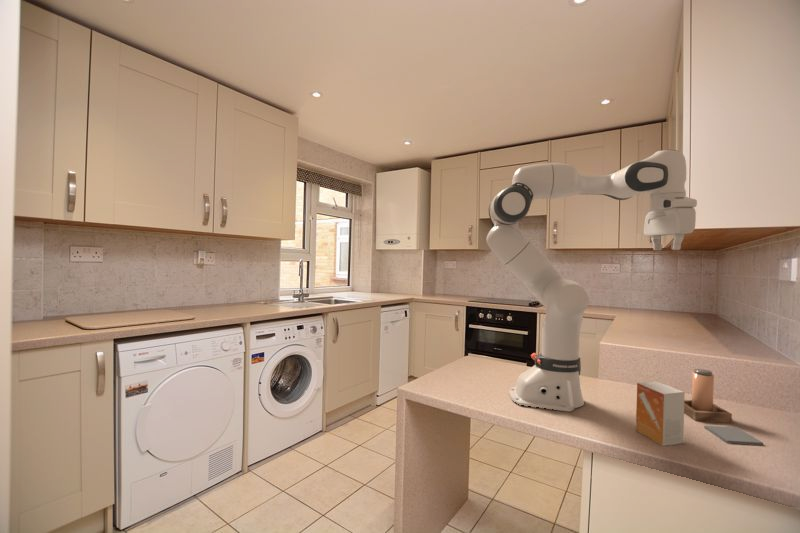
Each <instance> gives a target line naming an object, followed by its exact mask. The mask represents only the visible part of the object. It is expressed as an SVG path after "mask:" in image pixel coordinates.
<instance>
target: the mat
mask: <svg viewBox="0 0 800 533" xmlns="http://www.w3.org/2000/svg"><path fill="white" fill-rule="evenodd" d="M704 429H705V430H707V431H708V432H710V433H711V434H713V435H715V436H716V437H717V438H719V439H720V440H722V441H723V442H724V443H726V444H738V445H752V446H753V445H755V446H757V445H758V446H763V445H764V442H763V441H761V440H759V439H757V438H756V437H755V436H752V435H751V434H749V433H748V432H746V431H745V430H742V429H741V428H739V427H736V426H718V425H704Z"/></svg>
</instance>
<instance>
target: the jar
mask: <svg viewBox="0 0 800 533" xmlns="http://www.w3.org/2000/svg"><path fill="white" fill-rule="evenodd" d="M691 373H692V375H691V376H692V379H691V400H692V408H693V409H695V410H696V411H710V412H713V404H714V388H715V387H714V383H715V380H714V379H715V374H713V371H711V370H708V369H703V368H694V371H692V372H691Z"/></svg>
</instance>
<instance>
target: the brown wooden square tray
mask: <svg viewBox="0 0 800 533" xmlns="http://www.w3.org/2000/svg"><path fill="white" fill-rule="evenodd" d="M684 415H686V416H688V417H690V419H692V420H694V421H695V422H713V423H715V422H717V423H732V417H733V414H732V413H731V412H729V411H728V410H726V409H724V408H722V407H720V406H718V405H717V404H714V403H713V412H710V411H696V410H695V409H693V408H692V399H684Z"/></svg>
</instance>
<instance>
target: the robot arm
mask: <svg viewBox="0 0 800 533" xmlns="http://www.w3.org/2000/svg"><path fill="white" fill-rule="evenodd" d="M686 160H687V159H686V157H685V155H684V153H683V152H681V151H680V150H678V149H662V150H657V151H655V152H654V153H653V154H652V155H650V156H648V157H646V158H644V159H642V160H640V161H639V160H638V161H635V162H633V163H631V164H629V165H627V166H625V167H623V168H621V169H618V170H616V171H614V172H611V173H609V174H604V175H601V174H600V175H599V174H597V175H595V174H589V175H587V174H586V175H585V174H580V173H579V172H578V170H577V168H576V167H575V165H572V164H570V163H562V162H547V163H546V162H544V163H535V164H534V163H533V164H530V165H526V166H522V167H521V166H520V167H519V168H518V169H517V170H515V171H514V174H513V176H512V180H511V185H509V186H507V187H506V188H504V189H502V190H501V191H499V192H498V193H497V194H495V195H494V196H493V198H492V200H491V201H490V203H489V206H488V215H489V219H490V222H491V226H492V228H491V229H490V230H489V231H488V233H487V234H486V238H485V239H486V245H487V246H488V248H489V249H490V250H491V252H492V253H493V254H494V255H495V257H496V259H498V260H499V261H500V262H501V264H503V265H504V266H505V268H507V270H509V272H511V273H512V275H513V276H515V277H516V278H517V279H518V280H519V282H521V283H522V284H523V286H524V287H525V288H526V289H527V290H528V291H529V292H530V293H531V294H532V296H534V297H535V299H536V300H537V301H538V302H539V303H540V304H541V305H542V306H544V307H545V310H546V311H545V318H544V322H543V326H542V328H541V352H540V354H537V353H536V352H533V353H532V354H530V357H531V359H532V360H533V361H534V364H533V366H531V367H530V368H528V369H526V370H525V371H524V372H522V373H520V374H519V375H518V377H517V380H516V385H515V386H513V387H510V388H509V393H508V395H509V394H510V395H509V397H511V398H510V400H511V401H512V400H513V401H514V403H515V402H516V403H517V405H518V404H519V405H518V406H521V405H524V406H523V407H528V406H531V407H530V408H536V407H539V408H538V409H544V408H546V409H545V410H552V409H553V411H554V410H555V411H562V412H573V411H574V410H575V409H578V408H581V407H582V406H584V405H585V401H584V397H583V394H582V389H581V381H580V380H581V379H580V375H581V371H582V363H581V357H580V336H581V335H580V333H581V327H582V323H583V318H584V314H585V311H586V310H587V308H588V306H589V303H590V302H589V301H590V300H589V299H590V298H589V294H588V292H587V291H586V289H585V288H584V287H583V286H582V285H581V284H580V283H579V282H577V281H574V280H571V279H567V278H565V277H564V276H563V275H562V274H561V273H560V272H559V271H558V270H557V269H556V268H555V266H553V264H552V263H551V261H550V260H549V258H548V256H546V255H545V254H544V253H543V252H542V251H541V250H540V249H539V248H538V247H537V246H536V245H535V244H534V243H533V242H532V241H530V239H529V238H528V237H526V236H525V235H524V234H523V233H522V230H521V229H520V228H519V222H520V221H521V220H523V219H524V218H525V217H526V216H527V215H528V212H529V210H530V208H531V204H532V202H533V200H538V199H541V200H543V199H545V200H547V199H551V200H552V199H562V198H567V197H568V198H569V197H572V196H576V195H601V196H602V195H603V196H606V197H608V198H611V199H614V200H616V201H626V200H629V199H631V198H633V197H635V196H638V195H639V196H640V195H641V194H644V193H649V211H648V212H647V214H646V215H645V217H644V225H643V234H644V237H650V240H651V242H652V245H653V248H652V249H653V250H654V251H662V250H663V244H661V239H662V238H661V236H664V237H665V236H673V242H672V243H671V245H670V246H671V247H670V249H671V250H672V251H680V250H681V248H682V245H681V244H682V242H683V240H684V238H685V235H686V234H687V235H688V234H692V233H693V232H694V231H695V229H696V217H697V212H696V209H695V208H696V207H697V205H698V201H697V199H696V198H691V197H688V196H687V191H686V187H685V185H686V182H687V161H686ZM513 401H512V402H513ZM516 403H515V404H516Z"/></svg>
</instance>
